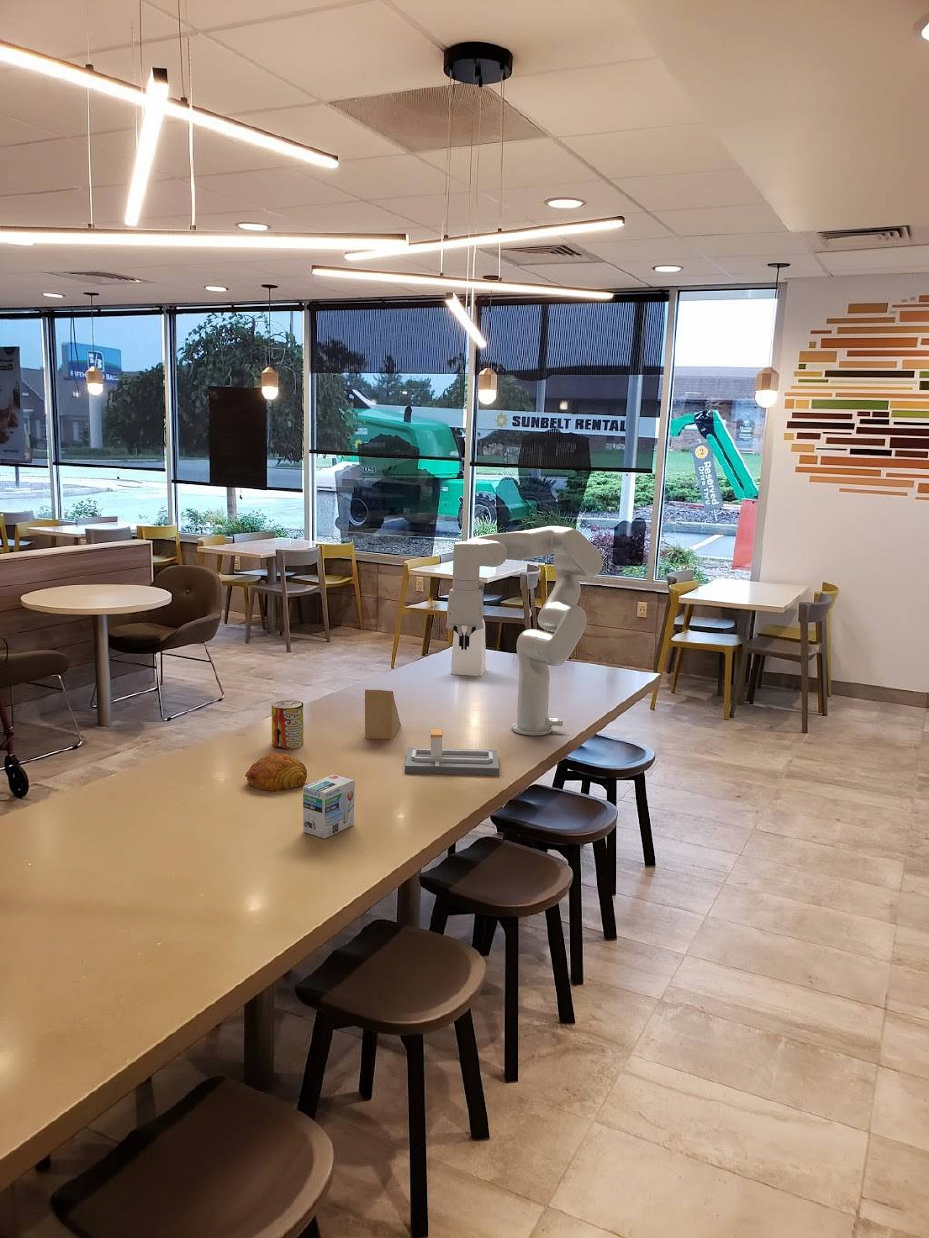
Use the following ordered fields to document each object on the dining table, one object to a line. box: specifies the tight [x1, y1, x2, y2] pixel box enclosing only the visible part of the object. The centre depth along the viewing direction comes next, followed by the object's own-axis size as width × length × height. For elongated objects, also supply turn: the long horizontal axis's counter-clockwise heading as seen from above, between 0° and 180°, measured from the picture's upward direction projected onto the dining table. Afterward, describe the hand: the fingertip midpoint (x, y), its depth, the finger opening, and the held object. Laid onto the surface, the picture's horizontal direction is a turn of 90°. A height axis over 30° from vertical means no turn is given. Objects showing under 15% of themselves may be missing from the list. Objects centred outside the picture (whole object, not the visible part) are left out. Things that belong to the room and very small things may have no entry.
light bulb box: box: [302, 774, 356, 840], centre depth 210 cm, size 11×7×11 cm, turn 148°
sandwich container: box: [364, 689, 402, 740], centre depth 282 cm, size 9×15×15 cm, turn 173°
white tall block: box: [450, 618, 487, 677], centre depth 360 cm, size 12×12×26 cm
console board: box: [404, 747, 500, 776], centre depth 255 cm, size 25×15×3 cm, turn 90°
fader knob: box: [430, 728, 444, 758], centre depth 254 cm, size 3×5×7 cm, turn 0°
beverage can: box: [271, 699, 305, 750], centre depth 267 cm, size 9×9×12 cm
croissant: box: [244, 752, 308, 792], centre depth 238 cm, size 14×16×8 cm
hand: (463, 648), depth 266 cm, fingers closed
